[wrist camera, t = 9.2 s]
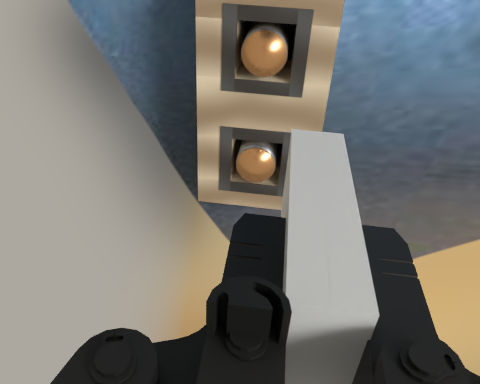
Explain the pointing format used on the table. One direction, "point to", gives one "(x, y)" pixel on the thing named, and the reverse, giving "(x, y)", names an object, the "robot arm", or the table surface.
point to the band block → (258, 91)
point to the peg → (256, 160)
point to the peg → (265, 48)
